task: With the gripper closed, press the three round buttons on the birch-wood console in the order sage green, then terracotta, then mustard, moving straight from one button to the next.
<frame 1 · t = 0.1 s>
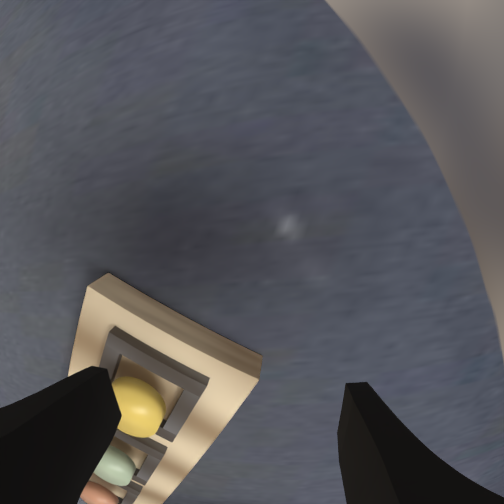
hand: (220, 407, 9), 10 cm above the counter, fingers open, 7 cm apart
terracotta button: (98, 497, 20), point 5 cm above the counter, slide at 0.0 cm
mustard button: (133, 408, 16), point 5 cm above the counter, slide at 0.0 cm
button console: (132, 426, 23), on the counter
sage button: (110, 465, 18), point 5 cm above the counter, slide at 0.0 cm
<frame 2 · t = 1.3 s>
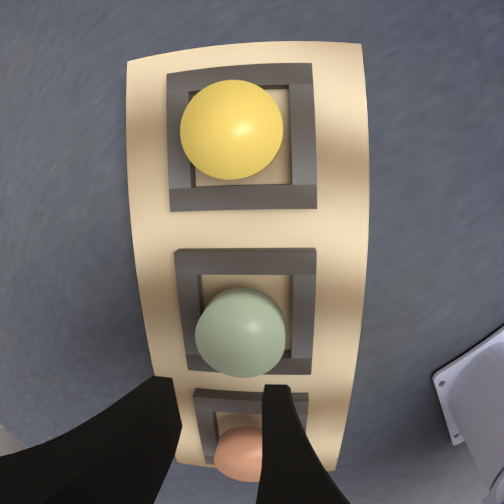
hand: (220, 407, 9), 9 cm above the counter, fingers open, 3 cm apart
terracotta button: (248, 455, 15), point 5 cm above the counter, slide at 0.0 cm
mustard button: (233, 130, 11), point 5 cm above the counter, slide at 0.0 cm
button console: (253, 292, 18), on the counter
sage button: (241, 333, 13), point 5 cm above the counter, slide at 0.0 cm
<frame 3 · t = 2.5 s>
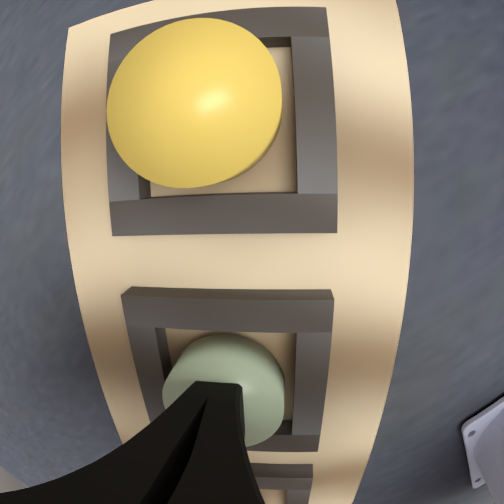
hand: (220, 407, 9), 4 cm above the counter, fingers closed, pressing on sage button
mustard button: (196, 103, 6), point 5 cm above the counter, slide at 0.0 cm
button console: (241, 338, 13), on the counter
sage button: (225, 394, 9), point 4 cm above the counter, slide at 1.1 cm, touching gripper
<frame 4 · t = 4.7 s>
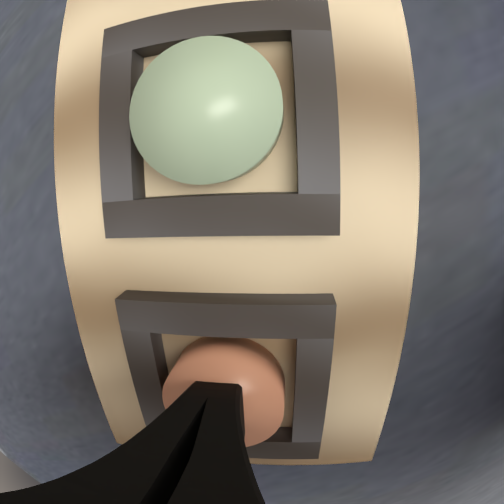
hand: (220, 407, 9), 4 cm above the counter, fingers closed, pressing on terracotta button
terracotta button: (225, 394, 9), point 3 cm above the counter, slide at 1.4 cm, touching gripper
button console: (231, 127, 10), on the counter
sage button: (208, 111, 7), point 3 cm above the counter, slide at 1.5 cm
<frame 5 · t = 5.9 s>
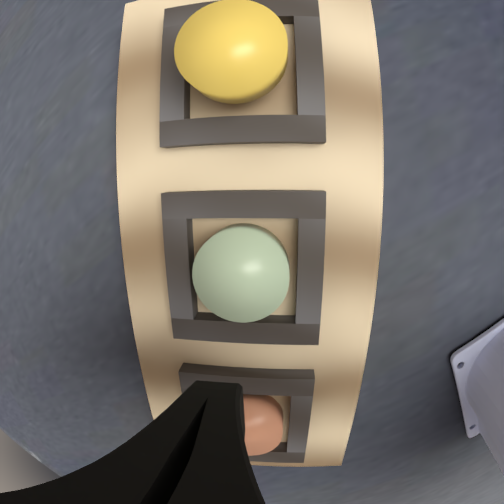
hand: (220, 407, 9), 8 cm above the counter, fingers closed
terracotta button: (246, 424, 14), point 3 cm above the counter, slide at 1.5 cm
mustard button: (232, 50, 9), point 5 cm above the counter, slide at 0.0 cm
button console: (251, 251, 16), on the counter
sage button: (242, 272, 12), point 3 cm above the counter, slide at 1.5 cm
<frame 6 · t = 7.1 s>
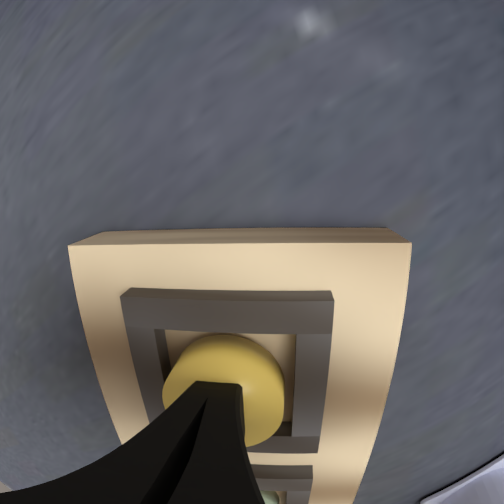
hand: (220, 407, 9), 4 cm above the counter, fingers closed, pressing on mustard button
mustard button: (225, 395, 9), point 4 cm above the counter, slide at 1.1 cm, touching gripper
button console: (248, 462, 15), on the counter
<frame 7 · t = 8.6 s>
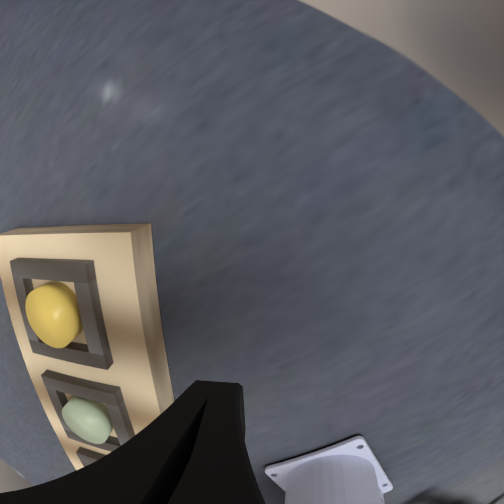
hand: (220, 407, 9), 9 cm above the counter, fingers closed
mustard button: (54, 314, 16), point 3 cm above the counter, slide at 1.5 cm
button console: (107, 393, 21), on the counter
sage button: (88, 419, 18), point 3 cm above the counter, slide at 1.5 cm
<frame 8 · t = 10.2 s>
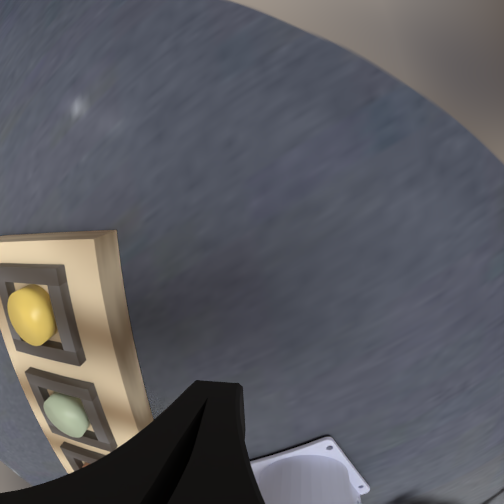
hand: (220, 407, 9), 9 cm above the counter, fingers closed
terracotta button: (100, 477, 20), point 3 cm above the counter, slide at 1.5 cm
mustard button: (32, 315, 16), point 3 cm above the counter, slide at 1.5 cm
button console: (87, 390, 21), on the counter
sage button: (67, 413, 18), point 3 cm above the counter, slide at 1.5 cm
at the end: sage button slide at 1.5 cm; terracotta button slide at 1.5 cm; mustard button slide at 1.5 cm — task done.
